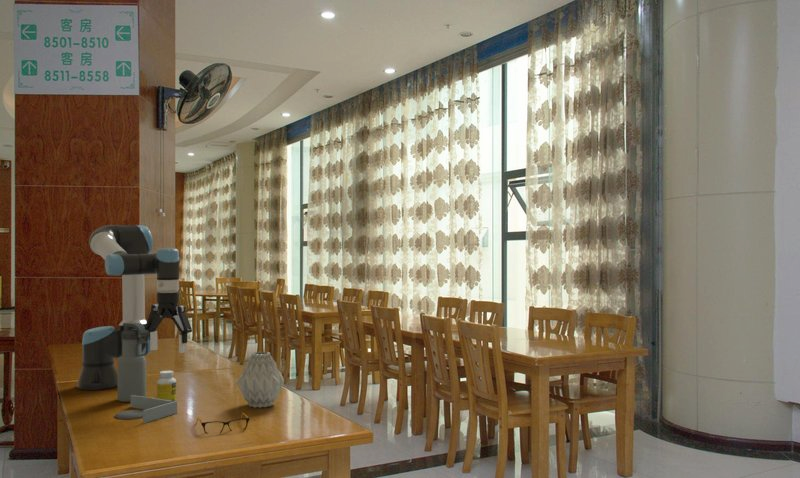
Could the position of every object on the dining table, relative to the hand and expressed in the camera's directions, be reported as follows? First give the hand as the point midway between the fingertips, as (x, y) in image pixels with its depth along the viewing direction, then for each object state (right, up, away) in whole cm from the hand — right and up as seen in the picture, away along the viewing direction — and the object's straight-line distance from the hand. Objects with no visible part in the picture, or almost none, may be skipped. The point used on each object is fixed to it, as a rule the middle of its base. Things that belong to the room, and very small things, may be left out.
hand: (168, 351), depth 241 cm
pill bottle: (0, -19, 0) cm, 19 cm away
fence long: (-3, -19, -8) cm, 21 cm away
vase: (+34, -19, -2) cm, 39 cm away
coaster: (-7, -19, -15) cm, 25 cm away
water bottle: (-16, -19, +7) cm, 26 cm away
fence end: (+4, -19, -19) cm, 27 cm away
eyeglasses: (+27, -20, -28) cm, 44 cm away
